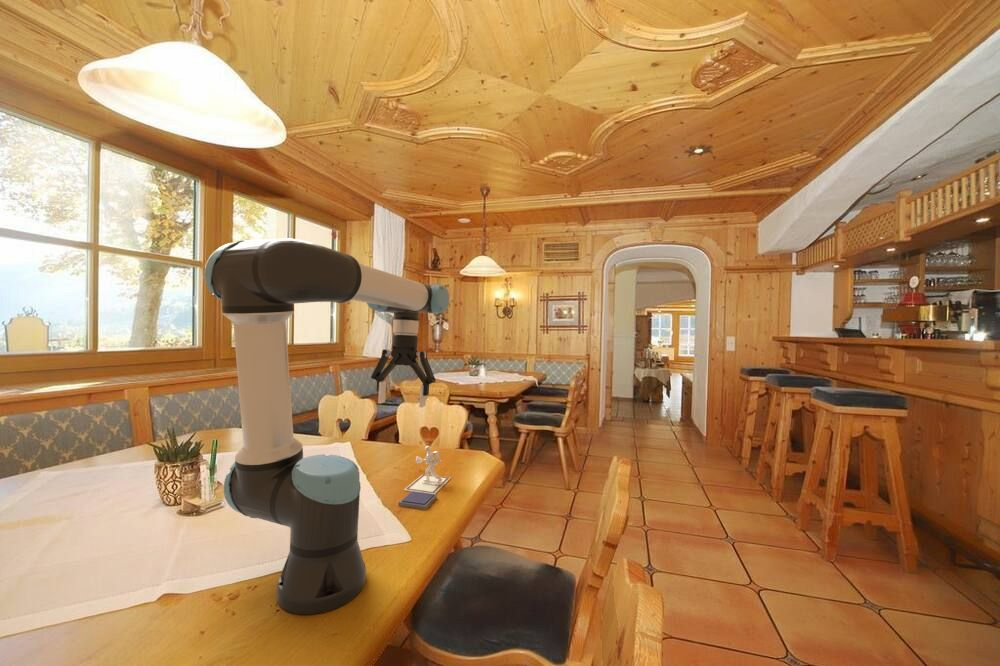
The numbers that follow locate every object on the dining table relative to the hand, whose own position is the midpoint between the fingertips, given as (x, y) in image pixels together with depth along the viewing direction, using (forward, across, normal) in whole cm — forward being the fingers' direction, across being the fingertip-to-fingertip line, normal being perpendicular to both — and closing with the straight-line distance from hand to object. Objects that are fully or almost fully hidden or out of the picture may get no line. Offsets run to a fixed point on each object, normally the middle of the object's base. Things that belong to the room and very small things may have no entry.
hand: (401, 404), depth 119 cm
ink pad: (+26, -9, +4) cm, 28 cm away
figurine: (+26, -6, -9) cm, 28 cm away
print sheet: (+26, -6, -9) cm, 28 cm away
